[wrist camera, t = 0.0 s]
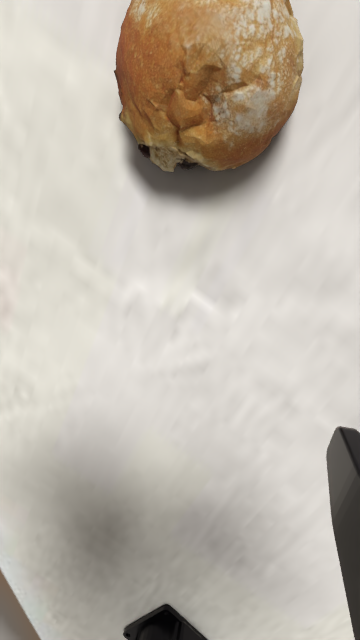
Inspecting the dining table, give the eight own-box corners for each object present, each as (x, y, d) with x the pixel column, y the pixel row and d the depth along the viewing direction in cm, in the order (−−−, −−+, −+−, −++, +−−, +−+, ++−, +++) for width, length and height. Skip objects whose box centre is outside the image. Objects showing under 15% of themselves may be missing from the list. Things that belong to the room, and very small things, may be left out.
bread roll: (291, 143, 23) (383, 62, 16) (167, 218, 22) (201, 170, 14) (216, 2, 22) (277, -165, 14) (78, 73, 20) (61, -71, 13)
